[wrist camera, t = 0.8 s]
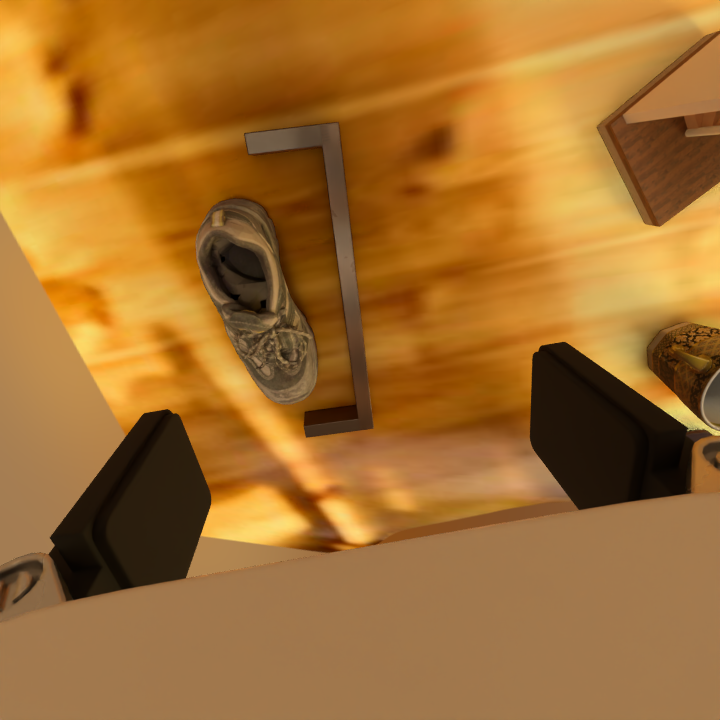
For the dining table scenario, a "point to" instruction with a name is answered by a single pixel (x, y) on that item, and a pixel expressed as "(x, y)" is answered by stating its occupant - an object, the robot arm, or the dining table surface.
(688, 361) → the ceramic cup
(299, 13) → the dining table surface
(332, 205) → the bracket
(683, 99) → the cream pedestal stand
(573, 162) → the dining table surface
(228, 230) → the hiking shoe
